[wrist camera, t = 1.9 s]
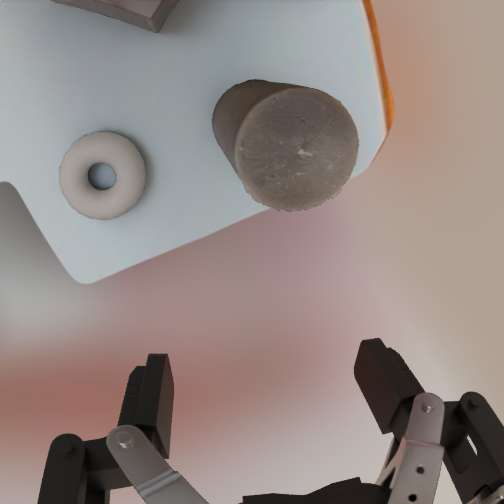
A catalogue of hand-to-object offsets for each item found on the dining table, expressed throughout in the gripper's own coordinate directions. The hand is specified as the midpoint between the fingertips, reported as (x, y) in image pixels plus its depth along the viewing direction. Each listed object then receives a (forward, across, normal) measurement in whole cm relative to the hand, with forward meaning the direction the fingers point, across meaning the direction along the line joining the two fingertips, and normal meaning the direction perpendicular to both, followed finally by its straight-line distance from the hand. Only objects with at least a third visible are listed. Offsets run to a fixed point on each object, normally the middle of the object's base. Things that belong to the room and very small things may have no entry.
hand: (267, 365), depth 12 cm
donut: (+25, +14, -5) cm, 29 cm away
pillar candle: (+26, -3, -9) cm, 28 cm away
